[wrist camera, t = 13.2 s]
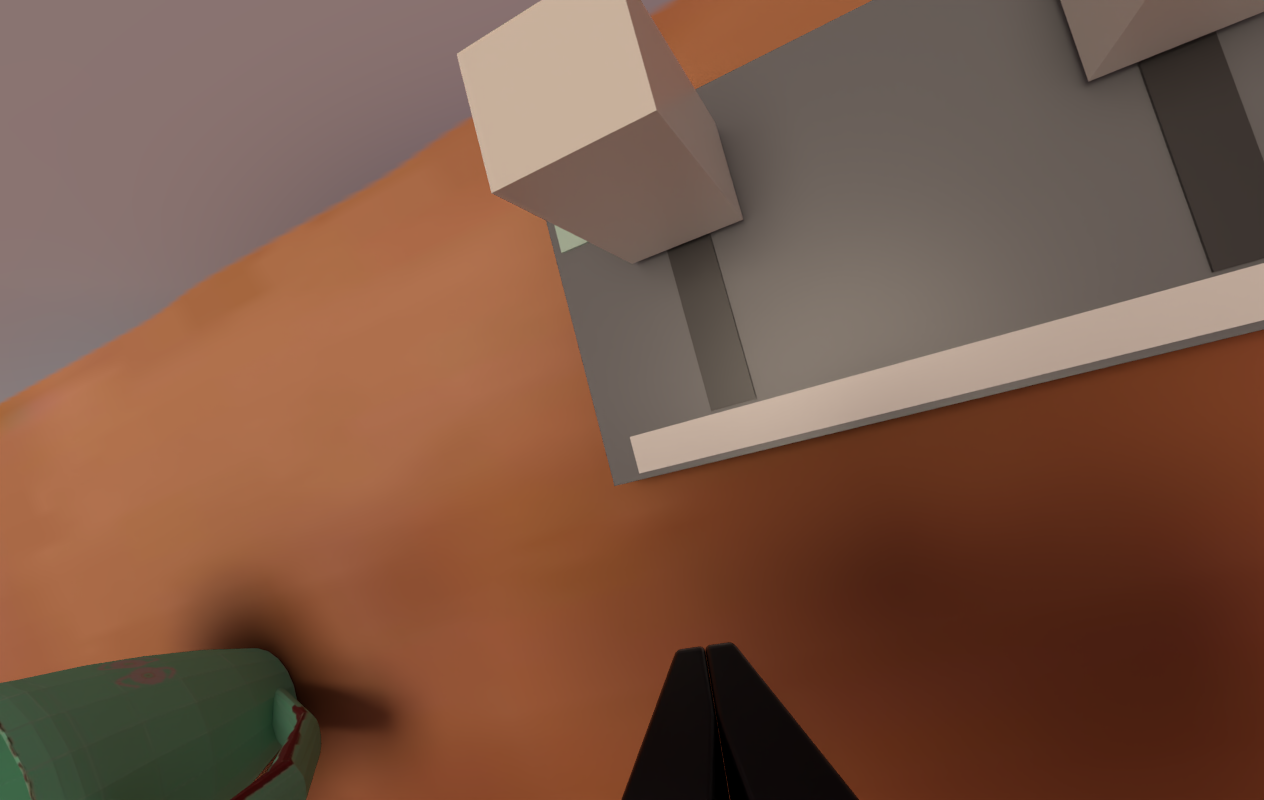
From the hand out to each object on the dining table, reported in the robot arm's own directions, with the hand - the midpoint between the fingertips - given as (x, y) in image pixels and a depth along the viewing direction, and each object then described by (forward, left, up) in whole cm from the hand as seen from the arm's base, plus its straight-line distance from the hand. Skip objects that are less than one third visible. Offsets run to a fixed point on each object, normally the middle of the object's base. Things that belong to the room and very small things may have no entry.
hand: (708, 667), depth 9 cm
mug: (+21, +15, -11) cm, 28 cm away
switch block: (-1, -9, -11) cm, 14 cm away
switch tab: (+5, -9, -9) cm, 14 cm away
